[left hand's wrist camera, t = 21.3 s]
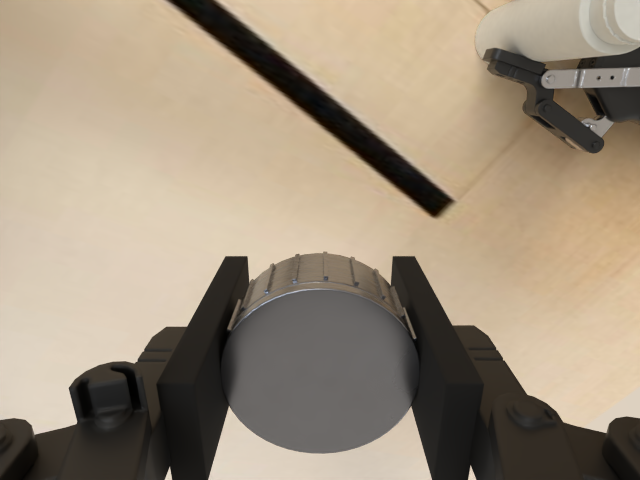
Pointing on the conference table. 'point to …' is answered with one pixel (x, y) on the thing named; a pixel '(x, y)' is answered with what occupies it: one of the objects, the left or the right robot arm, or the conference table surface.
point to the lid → (320, 355)
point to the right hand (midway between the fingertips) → (505, 13)
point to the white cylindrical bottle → (561, 28)
